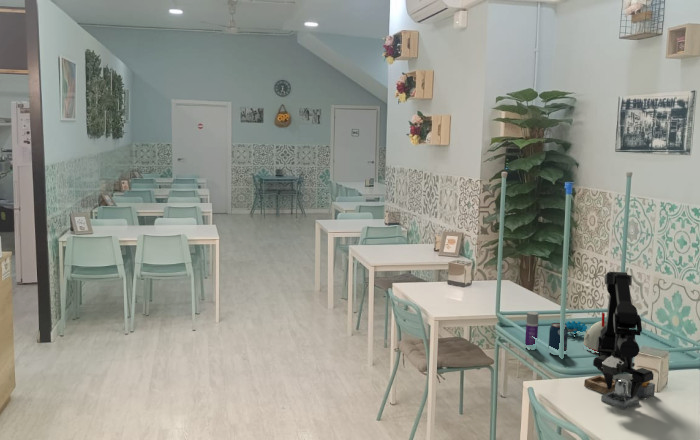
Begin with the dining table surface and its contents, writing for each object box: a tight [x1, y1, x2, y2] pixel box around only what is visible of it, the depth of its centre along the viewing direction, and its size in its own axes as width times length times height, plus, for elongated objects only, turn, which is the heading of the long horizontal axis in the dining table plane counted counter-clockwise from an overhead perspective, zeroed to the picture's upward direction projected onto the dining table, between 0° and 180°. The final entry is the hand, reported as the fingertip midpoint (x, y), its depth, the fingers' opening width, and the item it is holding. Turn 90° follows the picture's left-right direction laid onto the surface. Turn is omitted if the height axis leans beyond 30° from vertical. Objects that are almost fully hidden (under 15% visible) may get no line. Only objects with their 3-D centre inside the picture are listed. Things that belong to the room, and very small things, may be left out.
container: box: [524, 311, 539, 345], centre depth 272 cm, size 5×5×15 cm
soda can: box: [548, 322, 569, 351], centre depth 267 cm, size 7×7×12 cm
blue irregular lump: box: [565, 320, 588, 335], centre depth 290 cm, size 11×6×10 cm
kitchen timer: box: [583, 312, 606, 351], centre depth 273 cm, size 14×14×15 cm
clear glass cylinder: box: [614, 377, 629, 402], centre depth 221 cm, size 4×4×8 cm
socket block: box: [600, 380, 656, 410], centre depth 224 cm, size 8×19×4 cm, turn 125°
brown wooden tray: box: [583, 374, 615, 395], centre depth 234 cm, size 8×8×2 cm
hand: (620, 393), depth 221 cm, fingers open, 8 cm apart
